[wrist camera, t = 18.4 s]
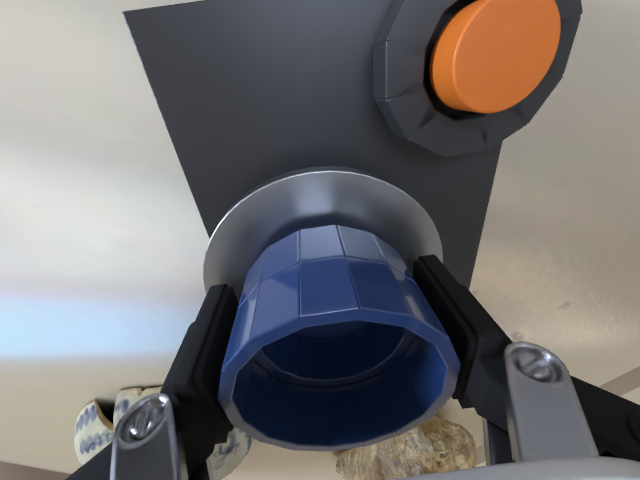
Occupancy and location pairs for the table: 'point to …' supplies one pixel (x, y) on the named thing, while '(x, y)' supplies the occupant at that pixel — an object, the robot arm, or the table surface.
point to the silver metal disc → (316, 219)
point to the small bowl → (334, 345)
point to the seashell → (411, 453)
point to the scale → (328, 102)
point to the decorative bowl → (99, 431)
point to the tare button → (494, 53)
